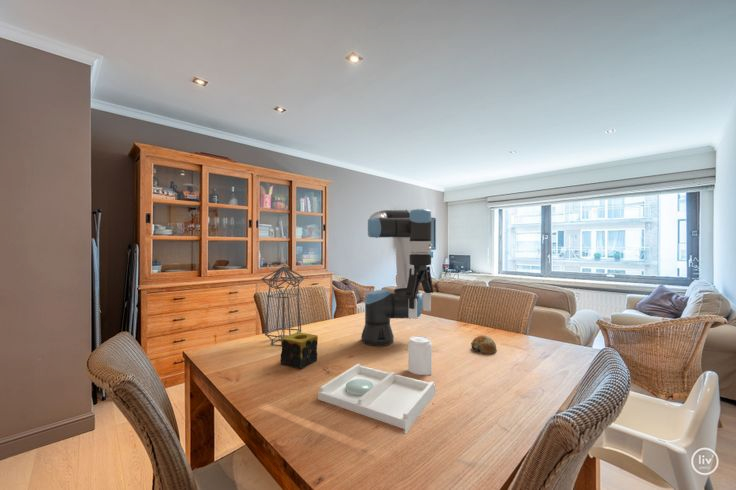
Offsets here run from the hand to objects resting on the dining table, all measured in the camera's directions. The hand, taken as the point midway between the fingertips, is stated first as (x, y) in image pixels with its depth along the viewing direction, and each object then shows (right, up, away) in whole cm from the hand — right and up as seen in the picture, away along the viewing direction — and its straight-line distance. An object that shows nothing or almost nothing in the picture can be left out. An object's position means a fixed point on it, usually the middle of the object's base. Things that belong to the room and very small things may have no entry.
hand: (420, 314), depth 106 cm
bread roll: (+31, -21, +23) cm, 44 cm away
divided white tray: (-15, -21, -17) cm, 31 cm away
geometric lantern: (-57, -21, +34) cm, 69 cm away
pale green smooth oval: (-21, -20, -14) cm, 32 cm away
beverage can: (0, -21, 0) cm, 21 cm away
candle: (-45, -21, +10) cm, 50 cm away
